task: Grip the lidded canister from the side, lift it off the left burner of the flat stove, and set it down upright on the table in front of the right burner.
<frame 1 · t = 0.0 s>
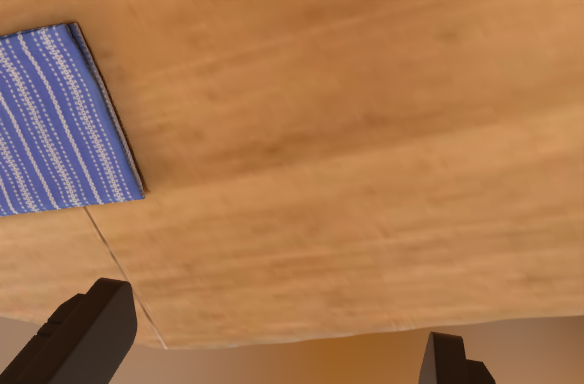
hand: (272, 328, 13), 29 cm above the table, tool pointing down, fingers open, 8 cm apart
dish towel: (13, 129, 48), on the table
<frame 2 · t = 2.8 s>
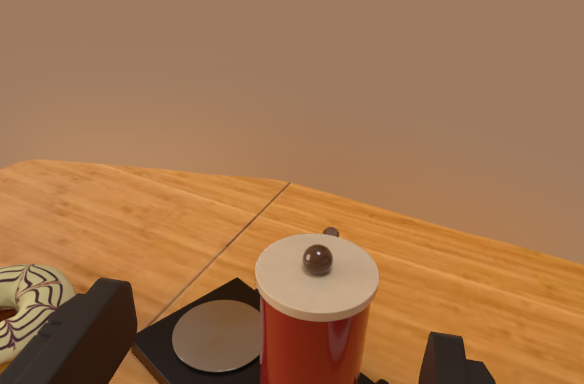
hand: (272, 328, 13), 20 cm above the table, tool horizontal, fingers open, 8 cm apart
decorated donut: (8, 339, 38), on the table
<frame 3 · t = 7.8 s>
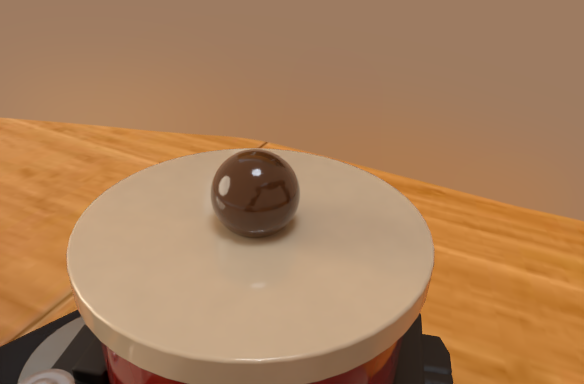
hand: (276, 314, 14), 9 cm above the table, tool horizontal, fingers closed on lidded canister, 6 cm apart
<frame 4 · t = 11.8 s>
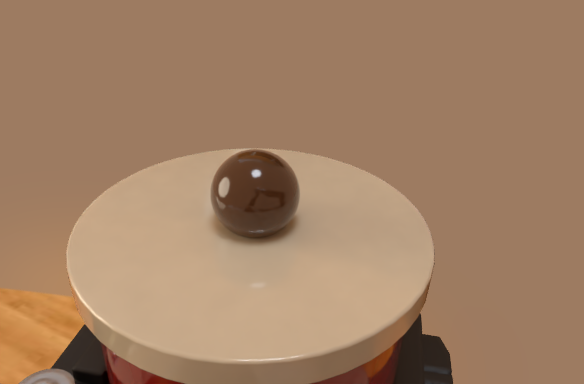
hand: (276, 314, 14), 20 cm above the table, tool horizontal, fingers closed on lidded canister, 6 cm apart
when the fingers open (7 cm above the table, at t = 16.2 s): lidded canister stays where it is, on the table.
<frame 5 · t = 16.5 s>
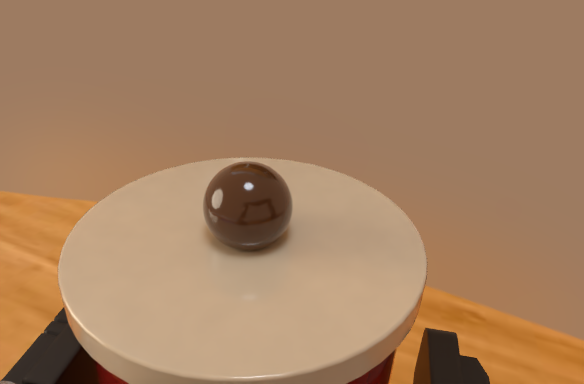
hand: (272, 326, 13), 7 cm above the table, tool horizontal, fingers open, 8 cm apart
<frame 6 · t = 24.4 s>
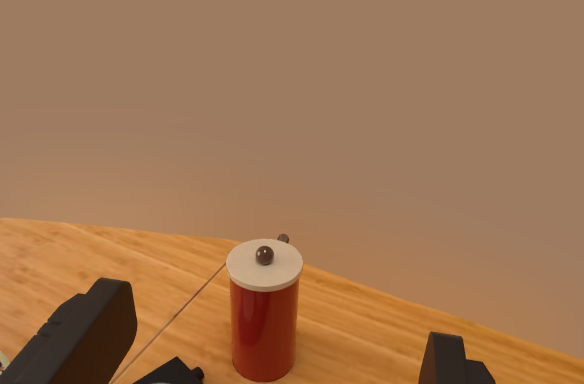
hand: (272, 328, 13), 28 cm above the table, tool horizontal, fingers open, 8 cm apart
lidded canister: (263, 356, 48), on the table
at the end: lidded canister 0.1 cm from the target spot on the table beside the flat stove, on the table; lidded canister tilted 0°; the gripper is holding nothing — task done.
